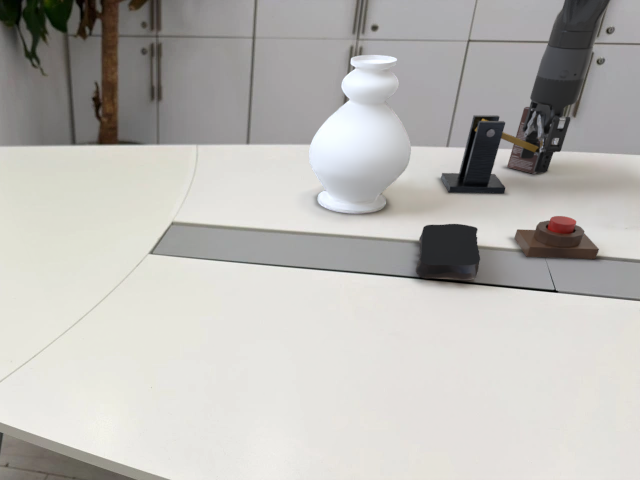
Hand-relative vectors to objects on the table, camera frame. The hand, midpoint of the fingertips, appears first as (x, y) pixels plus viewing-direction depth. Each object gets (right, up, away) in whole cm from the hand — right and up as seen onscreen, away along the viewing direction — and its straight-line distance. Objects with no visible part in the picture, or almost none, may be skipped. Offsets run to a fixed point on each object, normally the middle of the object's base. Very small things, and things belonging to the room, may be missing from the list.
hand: (532, 164), depth 129 cm
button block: (-9, -20, -20) cm, 30 cm away
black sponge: (-28, -23, -23) cm, 42 cm away
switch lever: (-6, +3, -1) cm, 7 cm away
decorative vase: (-35, -7, 0) cm, 36 cm away
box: (+5, +2, +11) cm, 12 cm away
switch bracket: (-10, -3, +4) cm, 11 cm away
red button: (-9, -18, -22) cm, 29 cm away
